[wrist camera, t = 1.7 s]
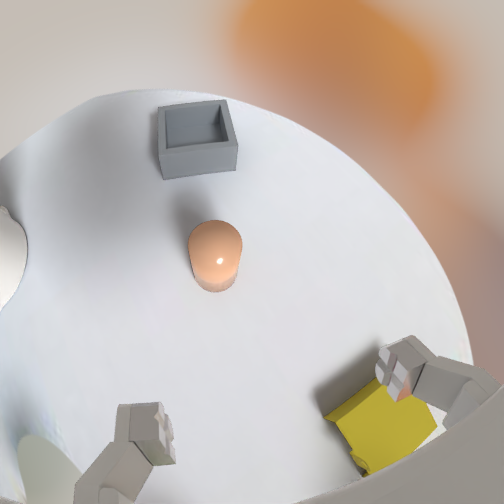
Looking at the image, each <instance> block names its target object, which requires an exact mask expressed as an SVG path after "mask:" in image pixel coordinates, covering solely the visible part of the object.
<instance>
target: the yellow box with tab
mask: <svg viewBox="0 0 504 504" xmlns="http://www.w3.org/2000/svg"><path fill="white" fill-rule="evenodd" d="M323 418H324V419H327V420H330V421H332V422H335V423H336V425H337V426H338V428H339V429H340V431H341V432H342V434H343V435H344V437H345V439H346V440H347V442H348V443H349V445H350V446H351V448H352V449H353V450H352V451H351V452H349V453H350V455H351V456H352V458H353V459H354V461H355V462H356V464H357V465H358V466H360V467H362V468H364V469H365V470H366V471H367V472H366V473H365V474H364V475H362V477H366V476H368V475H370V474H373V473H375V472H377V471H379V470H381V469H383V468H385V467H387V466H389V465H391V464H393V463H395V462H396V461H398V460H400V459H402V458H404V457H405V456H407V455H409V454H411V453H412V452H413V451H414V450H415V449H416V448H417V447H418V446H419V445H420V444H421V443H422V442H423V441H424V440H425V439H426V438H427V437H428V436H429V435H430V434H431V433H432V432H433V431H434V430H435V429H436V428H437V424H436V422H435V420H434V418H433V416H432V414H431V412H430V410H429V408H428V406H427V405H426V402H424V401H422V400H420V399H418V398H416V397H414V396H412V395H410V396H408V397H406V398H404V399H402V400H400V401H398V402H395V401H394V400H393V399H392V397H391V396H390V395H389V394H388V392H387V386H385V385H382V384H381V383H380V382H379V381H378V379H377V377H375V378H374V379H373V380H372V381H371V382H369V383H368V384H367V385H366V386H365V387H363V388H362V389H361V390H360V391H358V392H357V393H356V394H355V395H353V396H352V397H351V398H349V399H348V400H347V401H345V402H344V403H343V404H341V405H340V406H339V407H337V408H336V409H335V410H333V411H332V412H331V413H329V414H328V415H326V416H325V417H323Z"/></svg>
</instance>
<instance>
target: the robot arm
mask: <svg viewBox="0 0 504 504" xmlns="http://www.w3.org/2000/svg"><path fill="white" fill-rule="evenodd" d="M26 260H27V240H26V236H25V233H24V230H23V228H22V227H21V226H20V224H19V223H17V222H16V221H14V220H13V219H12V218H11V217H10V214H9V211H8V209H7V208H5V207H4V206H0V311H1V309H2V308H3V306H4V305H5V304H6V303H7V302H8V301H9V300H10V298H11V297H12V296H13V294H14V293H15V291H16V289H17V287H18V285H19V283H20V281H21V279H22V276H23V273H24V269H25V265H26ZM378 355H379V356H380V359H379V360H378V361H377V363H376V366H375V373H376V377H377V379H378V381H379V382H380V383H381V384H382V385H385V386H387V392H388V394H389V395H390V396H391V397H392V399H393V400H394V401H395V402H398V401H400V400H402V399H404V398H406V397H408V396H410V395H412V396H414V397H416V398H418V399H420V400H422V401H424V402H426V403H428V404H430V405H432V406H434V407H437V408H439V409H441V410H443V411H445V412H447V415H446V416H445V418H444V419H443V422H442V424H443V425H444V427H445V428H446V429H447V431H446V432H444V433H443V434H441V435H440V436H438V437H437V438H435V439H434V440H432V441H430V442H429V443H427V444H426V445H424V446H423V447H421V448H419V449H418V450H416V451H414V452H412V453H411V454H409V455H407V456H405V457H404V458H402V459H400V460H398V461H396V462H395V463H393V464H391V465H389V466H387V467H385V468H383V469H381V470H379V471H377V472H375V473H373V474H370V475H368V476H366V477H364V478H362V479H359V480H357V481H355V482H352V483H350V484H348V485H345V486H343V487H340V488H338V489H335V490H332V491H330V492H327V493H324V494H321V495H318V496H315V497H312V498H309V499H306V500H303V501H300V502H296V503H293V504H504V385H503V386H502V385H501V384H500V383H499V382H498V381H497V380H496V379H494V378H493V377H492V376H491V375H490V374H489V373H488V372H487V371H486V370H485V369H482V368H479V367H476V366H472V365H469V364H465V363H462V362H458V361H455V360H452V359H448V358H445V357H441V356H438V357H436V356H435V355H434V354H433V353H432V352H431V351H430V350H429V349H428V348H427V347H426V346H425V345H424V344H423V343H422V342H421V341H419V340H418V339H417V338H416V337H415V336H413V335H410V336H408V337H405V338H403V339H400V340H398V341H395V342H393V343H391V344H388V345H386V346H383V347H381V349H380V350H379V354H378ZM173 439H174V436H173V429H172V424H171V421H170V419H169V416H168V415H167V414H165V413H164V406H163V405H162V403H161V402H151V403H136V404H119V406H118V408H117V416H116V425H115V435H114V442H110V443H109V444H108V445H107V447H106V448H105V449H104V450H103V451H102V453H101V454H100V455H99V456H98V457H97V459H96V460H95V461H94V462H93V463H92V465H91V466H90V467H89V468H88V469H87V471H86V472H85V473H84V474H83V475H82V477H81V478H80V479H79V480H78V481H77V482H76V484H75V491H74V504H134V501H135V499H136V497H137V496H138V494H139V492H140V490H141V489H142V487H143V485H144V483H145V481H146V480H147V478H148V476H149V474H150V473H151V471H152V469H153V466H161V465H171V464H176V459H175V449H174V447H173V445H172V444H171V442H172V440H173ZM0 504H22V503H19V502H16V501H13V500H10V499H7V498H5V497H2V496H0Z"/></svg>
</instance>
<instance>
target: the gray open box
mask: <svg viewBox="0 0 504 504" xmlns="http://www.w3.org/2000/svg"><path fill="white" fill-rule="evenodd" d="M237 153H238V143H237V139H236V135H235V132H234V128H233V124H232V120H231V117H230V113H229V109H228V105H227V101H226V100H214V101H203V102H193V103H185V104H177V105H170V106H163V107H158V157H159V161H160V166H161V171H162V175H163V180H166V179H172V178H179V177H186V176H193V175H201V174H209V173H217V172H225V171H234V170H236V161H237Z"/></svg>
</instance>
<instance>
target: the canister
mask: <svg viewBox="0 0 504 504" xmlns="http://www.w3.org/2000/svg"><path fill="white" fill-rule="evenodd" d="M188 250H189V255H190V260H191V264H192V269H193V273H194V277H195V280H196V282H197V283H198V285H199V286H200V287H202V288H203V289H205V290H207V291H210V292H221V291H224V290H226V289H228V288H229V287H230V286H231V285H232V284H233V283H234V281H235V279H236V276H237V271H238V266H239V261H240V256H241V251H242V239H241V236H240V234H239V232H238V231H237V230H236V229H235V228H234V227H233V226H232V225H230V224H229V223H226V222H224V221H219V220H211V221H206V222H204V223H202V224H200V225H198V226H197V227H196V228H195V229H194V230H193V231H192V233H191V234H190V237H189V240H188Z"/></svg>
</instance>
